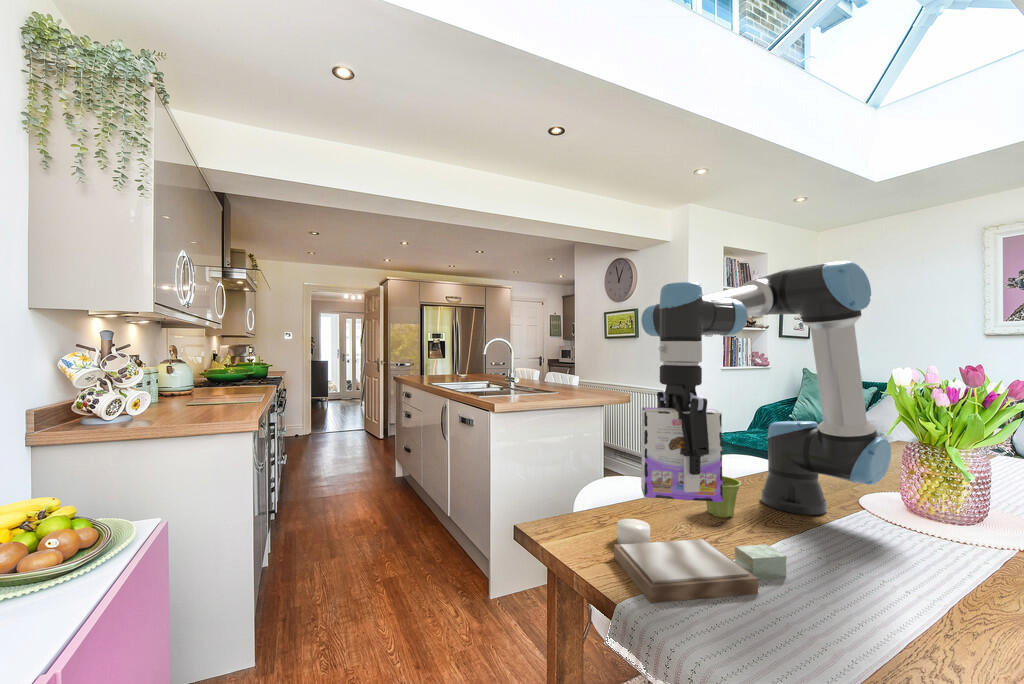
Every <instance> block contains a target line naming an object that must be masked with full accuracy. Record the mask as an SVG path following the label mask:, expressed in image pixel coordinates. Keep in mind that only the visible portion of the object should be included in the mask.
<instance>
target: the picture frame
mask: <svg viewBox="0 0 1024 684" xmlns="http://www.w3.org/2000/svg"><path fill="white" fill-rule="evenodd" d="M613 558H614V559H615V561H616V562H617V563H618V565H620V567H621V568H622V569H623V571H624V572H625V573H626V574H627V576H628V577H629V578H630V579H631V581H632V582H633V583H634V584H635V586H636V587H637V588H638V590H640V591H641V593H642V594H643V595H644V596H645V598H646V599H647V600H648V602H649V603H650V604H653V603H664V602H675V601H686V600H687V601H688V600H700V599H710V598H711V597H713V598H721V597H720V596H724V597H734V596H735V597H736V596H743V595H758V594H759V579H758V578H757V577H755V576H754V575H753V574H751V573H750V572H749V571H747V570H746V569H744V568H743V567H742V566H740V565H739V564H738V563H736V562H735V560H733V559H732V558H730V557H729V556H728V555H727V554H725V553H724V552H722V551H721V550H720V549H718V548H717V547H715V546H714V545H713V544H712V543H710V542H708V541H707V540H706V539H704V538H698V539H681V540H679V539H678V540H666V541H665V540H664V541H650V542H647V543H631V544H618V543H617V544H613ZM711 599H712V598H711Z"/></svg>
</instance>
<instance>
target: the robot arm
mask: <svg viewBox="0 0 1024 684" xmlns="http://www.w3.org/2000/svg"><path fill="white" fill-rule="evenodd" d="M871 296H872V288H871V282H870V280H869V278H868V276H867V274H866V272H865V271H864V269H863V268H862V267H860V266H859V265H858V264H857V263H856V262H853V261H849V260H843V261H833V262H831V261H830V262H825V263H820V264H816V265H815V264H814V265H810V266H808V265H807V266H802V267H798V268H789V269H786V270H781V271H777V272H773V273H772V274H771V273H770V274H768V275H764V276H762V277H759V278H755V279H752V280H748V281H746V282H744V283H742V285H741V286H738V287H733V288H729V289H724V290H720V291H716V292H710V293H705V294H704V293H703V288H702V285H701V284H700V283H698V282H693V281H691V282H690V281H680V282H679V281H678V282H670V283H667V284H665V285H663V286H662V288H661V289H660V296H659V303H656V304H653V305H649V306H647V307H646V308H645V309H644V310H643V311H642V314H641V318H640V319H641V321H640V322H641V327H642V330H643V331H644V332H645V333H646V334H647V335H649V336H651V337H659V347H658V351H659V362H662V363H663V364H661V365H660V366H659V383H660V384H661V385H665V391H657V394H656V396H657V408H673V409H676V411H677V412H678V416H679V418H681V420H682V431H683V436H684V441H685V446H686V452H687V453H683V455H684V491H685V492H700V458H701V456H702V455H708V454H709V444H708V431H707V417H706V409H708V408H707V407H708V399H707V398H706V397H705V398H704V397H703V398H702V397H701V398H700V397H699V396H698V395H697V391H696V387H697V386H698V387H699V386H700V385H702V383H703V382H702V381H703V380H702V379H703V378H702V376H703V370H702V369H703V367H702V365H699V364H700V363H702V362H703V341H702V339H703V338H702V337H703V336H714V335H716V336H717V335H718V336H719V335H720V336H733V335H737V334H738V333H741V331H742V330H743V329H744V328H745V327H746V325H747V321H748V316H750V317H762V316H768V315H769V316H770V315H801V323H803V324H804V325H805V326H807V327H808V328H809V329H810V332H811V333H810V335H811V340H812V348H813V354H814V355H813V356H814V363H815V370H816V377H817V383H818V391H819V399H820V407H821V414H822V420H821V422H820V423H818V422H817V421H811V420H786V421H785V420H784V421H783V420H782V421H773V422H772V423H770V424H769V425H768V431H767V438H766V439H767V460H768V461H767V462H768V463H767V464H768V467H767V468H768V470H767V472H768V473H767V477H766V480H765V481H764V485H763V488H762V489H761V493H760V494H761V495H760V496H761V497H760V498H761V502H762V503H763V504H765V506H768V507H771V508H772V509H775V510H779V511H783V512H786V513H791V514H797V515H807V516H808V515H809V516H813V515H814V516H815V515H816V516H817V515H819V516H820V515H823V514H826V513H827V512H828V511H827V510H828V508H827V507H828V506H827V500H826V499H825V497H824V492H823V490H822V487H821V484H820V481H819V475H823V476H827V477H831V478H835V479H840V480H844V481H847V482H850V483H853V484H856V483H857V484H860V485H861V484H862V485H866V486H872V485H876V484H878V483H879V482H881V481H882V480H883V478H885V476H886V474H887V472H888V470H889V467H890V464H891V459H892V446H891V444H890V442H889V441H888V439H886V438H883V437H882V436H879V437H878V434H877V426H876V425H875V424H873V423H872V422H871V421H868V419H867V412H866V403H865V402H866V401H865V395H864V388H863V382H862V374H861V373H862V371H861V365H860V357H859V350H858V342H857V341H858V340H857V334H856V328H855V327H856V326H855V325H856V322H857V321H858V320H859V319H860V318H862V310H864V309H866V308H868V307H869V304H870V302H871ZM689 411H690V413H687V414H684V413H683V412H689Z"/></svg>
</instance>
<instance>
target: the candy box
mask: <svg viewBox="0 0 1024 684" xmlns="http://www.w3.org/2000/svg"><path fill="white" fill-rule="evenodd" d="M683 413H684V414H687V413H690V411H689V412H683ZM722 415H723V414H722V412H720V411H718V410H715V409H713V408H707V409H706V417H707V431H708V444H709V454H708V455H702V456H701V458H700V492H685V491H684V455H683V453H687V452H686V446H685V441H684V436H683V431H682V420H681V418H679V416H678V412H677V411H676V409H673V408H658V407H651V406H650V407H647V406H646V407H641V429H640V430H641V431H640V432H641V434H640V435H641V450H640V451H641V458H640V463H641V468H640V469H641V473H640V474H641V477H640V478H641V479H640V480H641V481H640V483H641V484H640V485H641V486H640V487H641V491H642V496H643V497H644V498H647V499H648V498H650V499H664V500H683V501H698V502H699V501H700V502H701V501H702V502H706V501H711V502H722V501H723V488H722V476H723V438H722V436H723V435H722V433H723V431H722V427H723V426H722Z"/></svg>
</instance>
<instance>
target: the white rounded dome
mask: <svg viewBox="0 0 1024 684" xmlns="http://www.w3.org/2000/svg"><path fill="white" fill-rule="evenodd" d="M616 541H617V544H631V543H647V542H651V525H650V524H649V523H648V522H646V521H644V520H641V519H636V518H622V519H619V520H618V521H617V523H616Z"/></svg>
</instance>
